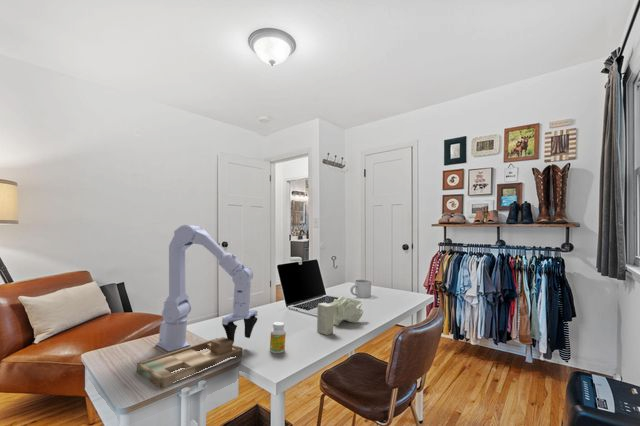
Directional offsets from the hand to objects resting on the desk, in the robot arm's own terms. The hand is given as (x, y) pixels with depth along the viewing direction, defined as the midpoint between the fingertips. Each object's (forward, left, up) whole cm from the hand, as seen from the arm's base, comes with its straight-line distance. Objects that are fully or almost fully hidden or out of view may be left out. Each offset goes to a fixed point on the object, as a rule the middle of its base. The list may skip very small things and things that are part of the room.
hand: (239, 340), depth 109 cm
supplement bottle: (+10, +9, -4) cm, 14 cm away
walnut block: (0, -8, -2) cm, 8 cm away
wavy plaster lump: (+11, +56, -4) cm, 58 cm away
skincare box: (+12, +37, -4) cm, 40 cm away
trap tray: (-3, -16, -4) cm, 17 cm away
